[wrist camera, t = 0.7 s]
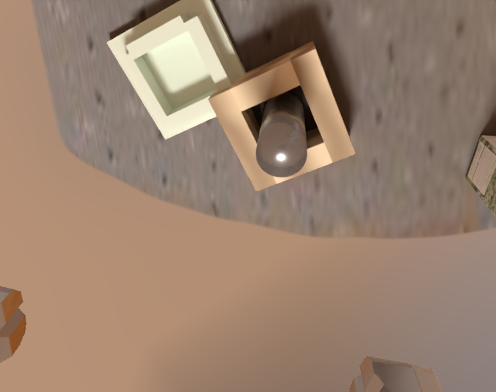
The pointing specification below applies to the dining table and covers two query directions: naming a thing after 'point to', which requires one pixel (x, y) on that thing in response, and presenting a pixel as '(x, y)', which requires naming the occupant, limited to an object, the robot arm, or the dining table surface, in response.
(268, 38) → the dining table surface
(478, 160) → the syrup box
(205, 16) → the holder
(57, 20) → the dining table surface
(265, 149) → the axle
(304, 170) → the bored block
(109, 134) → the dining table surface
